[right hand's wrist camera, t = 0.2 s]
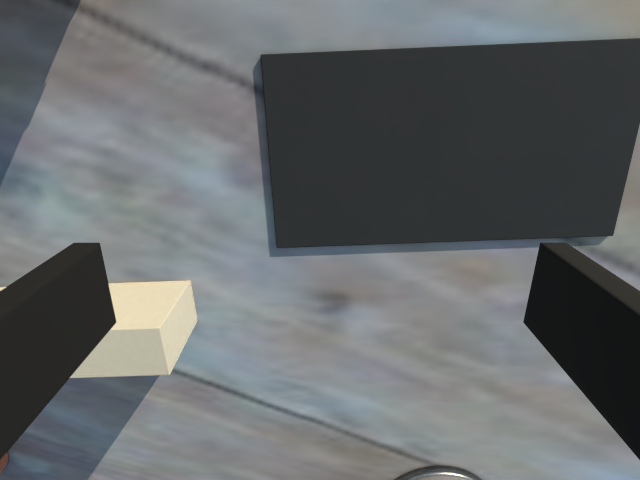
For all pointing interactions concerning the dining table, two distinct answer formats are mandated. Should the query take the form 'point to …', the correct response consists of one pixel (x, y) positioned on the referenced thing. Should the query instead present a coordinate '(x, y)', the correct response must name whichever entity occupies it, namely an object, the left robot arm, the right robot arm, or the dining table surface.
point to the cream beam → (143, 330)
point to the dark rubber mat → (450, 142)
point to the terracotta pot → (4, 462)
